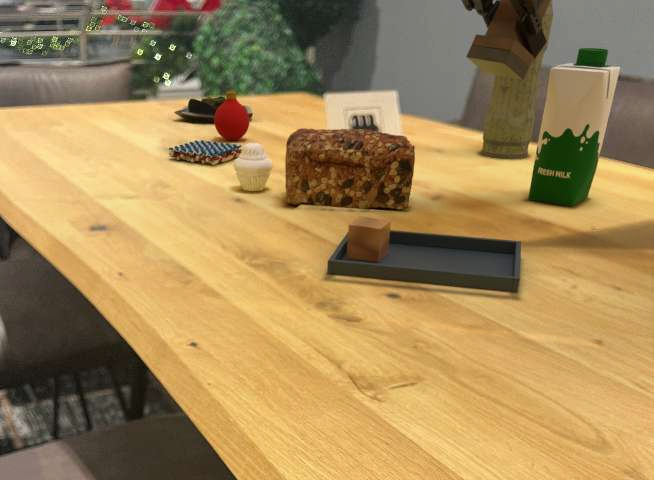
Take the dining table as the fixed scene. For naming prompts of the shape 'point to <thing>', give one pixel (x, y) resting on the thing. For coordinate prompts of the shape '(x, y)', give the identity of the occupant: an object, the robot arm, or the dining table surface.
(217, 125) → the christmas ornament
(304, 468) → the dining table surface
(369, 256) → the wooden block
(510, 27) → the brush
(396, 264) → the tray
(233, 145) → the woven mat
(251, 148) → the muffin
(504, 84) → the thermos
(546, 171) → the milk carton
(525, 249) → the dining table surface
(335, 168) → the bread
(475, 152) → the dining table surface
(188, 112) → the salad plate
